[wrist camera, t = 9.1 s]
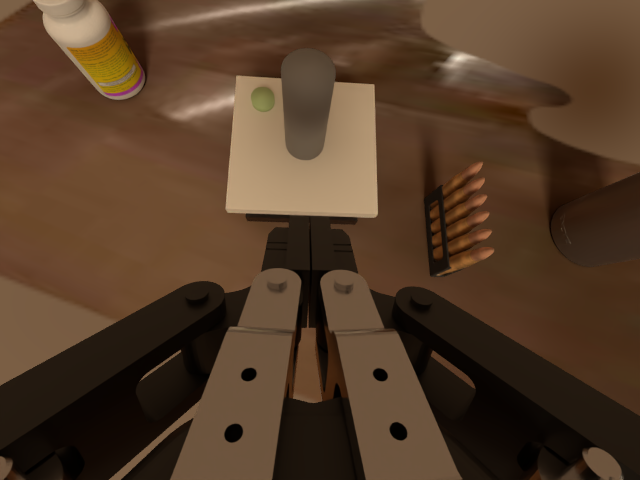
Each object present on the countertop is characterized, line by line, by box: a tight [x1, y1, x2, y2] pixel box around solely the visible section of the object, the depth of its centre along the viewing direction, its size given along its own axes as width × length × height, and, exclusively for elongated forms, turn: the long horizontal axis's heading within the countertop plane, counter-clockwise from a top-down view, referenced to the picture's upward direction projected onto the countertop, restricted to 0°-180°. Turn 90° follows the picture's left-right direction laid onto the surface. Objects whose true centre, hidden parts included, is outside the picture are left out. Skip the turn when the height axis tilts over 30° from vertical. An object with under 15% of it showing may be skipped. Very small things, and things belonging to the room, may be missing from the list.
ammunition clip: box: [424, 162, 494, 277], centre depth 36 cm, size 11×2×12 cm, turn 0°
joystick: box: [226, 48, 378, 218], centre depth 28 cm, size 15×15×11 cm
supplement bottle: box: [33, 0, 145, 100], centre depth 37 cm, size 7×7×13 cm
